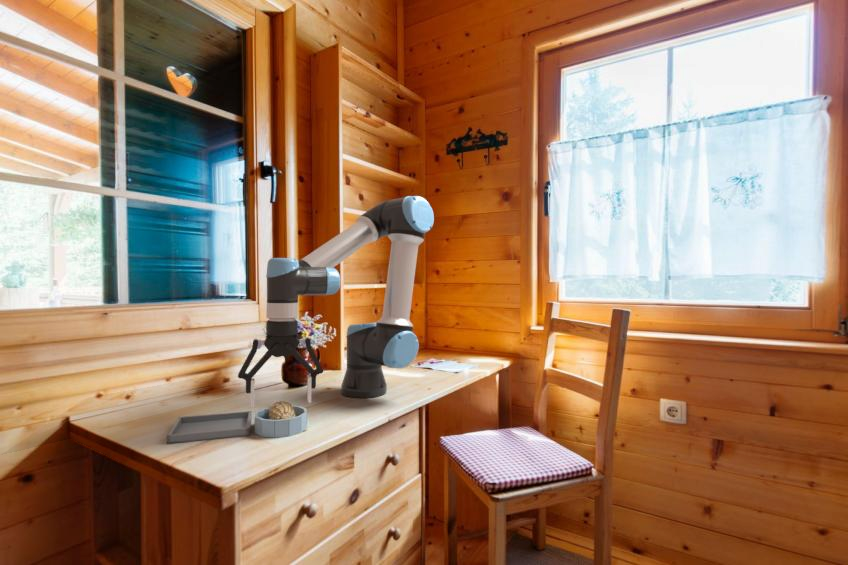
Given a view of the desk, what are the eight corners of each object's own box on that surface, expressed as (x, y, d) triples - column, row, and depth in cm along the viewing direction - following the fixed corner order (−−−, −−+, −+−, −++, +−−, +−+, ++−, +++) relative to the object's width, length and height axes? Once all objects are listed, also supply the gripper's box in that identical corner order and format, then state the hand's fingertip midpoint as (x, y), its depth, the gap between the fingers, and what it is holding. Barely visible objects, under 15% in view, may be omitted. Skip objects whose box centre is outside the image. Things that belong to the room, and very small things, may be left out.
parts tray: (251, 417, 117) (251, 410, 117) (249, 435, 104) (249, 428, 104) (178, 424, 111) (178, 417, 111) (166, 444, 98) (166, 436, 98)
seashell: (256, 427, 109) (277, 430, 103) (256, 403, 110) (277, 404, 104) (284, 422, 115) (306, 424, 108) (283, 399, 116) (305, 400, 109)
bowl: (304, 418, 117) (304, 403, 117) (308, 434, 106) (308, 417, 105) (255, 422, 113) (255, 407, 113) (253, 439, 101) (254, 422, 101)
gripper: (330, 317, 117) (329, 395, 117) (229, 318, 108) (228, 403, 109) (334, 319, 110) (333, 403, 110) (226, 322, 101) (225, 412, 101)
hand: (281, 403), depth 109 cm, fingers open, 13 cm apart
